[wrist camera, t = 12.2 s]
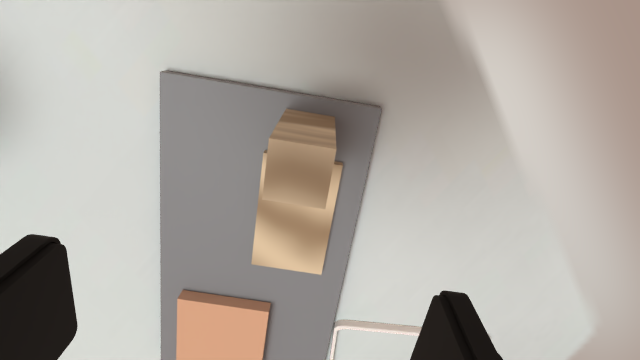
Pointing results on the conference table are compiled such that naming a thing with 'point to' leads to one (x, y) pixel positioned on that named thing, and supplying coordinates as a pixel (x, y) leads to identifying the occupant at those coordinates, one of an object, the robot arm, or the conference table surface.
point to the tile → (220, 327)
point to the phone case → (371, 329)
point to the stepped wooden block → (297, 193)
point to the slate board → (248, 206)
